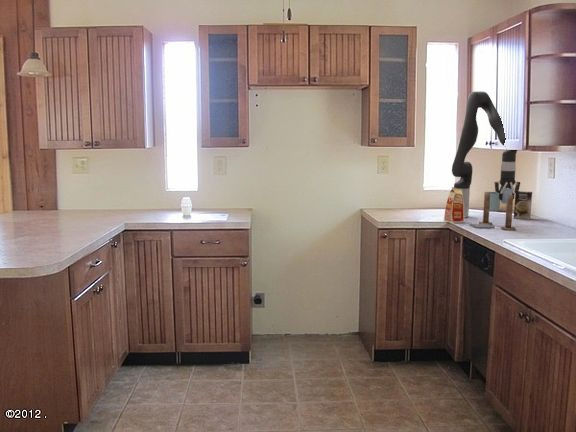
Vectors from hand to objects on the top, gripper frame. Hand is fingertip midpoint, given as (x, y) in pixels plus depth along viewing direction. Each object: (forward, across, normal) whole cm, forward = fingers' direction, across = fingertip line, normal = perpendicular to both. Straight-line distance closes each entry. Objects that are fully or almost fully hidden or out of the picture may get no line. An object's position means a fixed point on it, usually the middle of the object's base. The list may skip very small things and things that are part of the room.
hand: (506, 200), depth 314 cm
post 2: (+13, +6, +19) cm, 24 cm away
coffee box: (+14, -18, -19) cm, 29 cm away
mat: (+13, +17, +11) cm, 24 cm away
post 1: (+13, +12, +3) cm, 18 cm away
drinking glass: (+14, -13, -53) cm, 56 cm away
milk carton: (+14, +26, -8) cm, 30 cm away
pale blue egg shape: (+2, 0, 0) cm, 2 cm away
